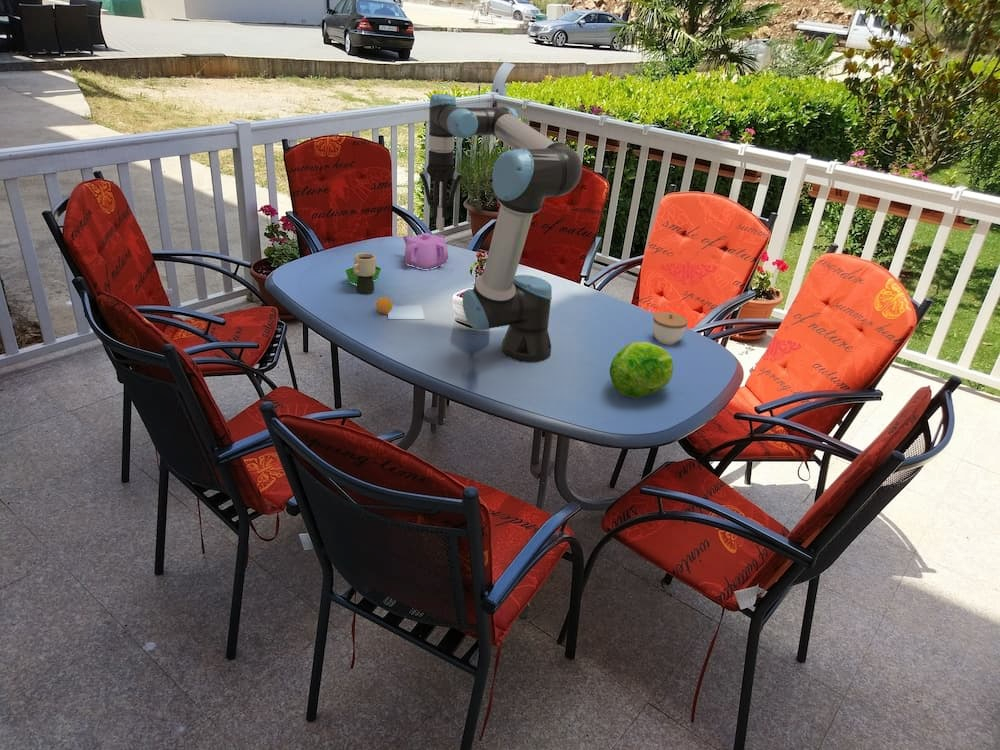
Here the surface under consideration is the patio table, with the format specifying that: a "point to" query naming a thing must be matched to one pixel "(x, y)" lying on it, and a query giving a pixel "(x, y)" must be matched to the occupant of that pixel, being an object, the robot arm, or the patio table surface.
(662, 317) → the lidded jar
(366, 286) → the character mug
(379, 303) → the ball
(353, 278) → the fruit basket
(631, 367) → the lettuce
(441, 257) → the pink squat rounded shape
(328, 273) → the patio table surface
